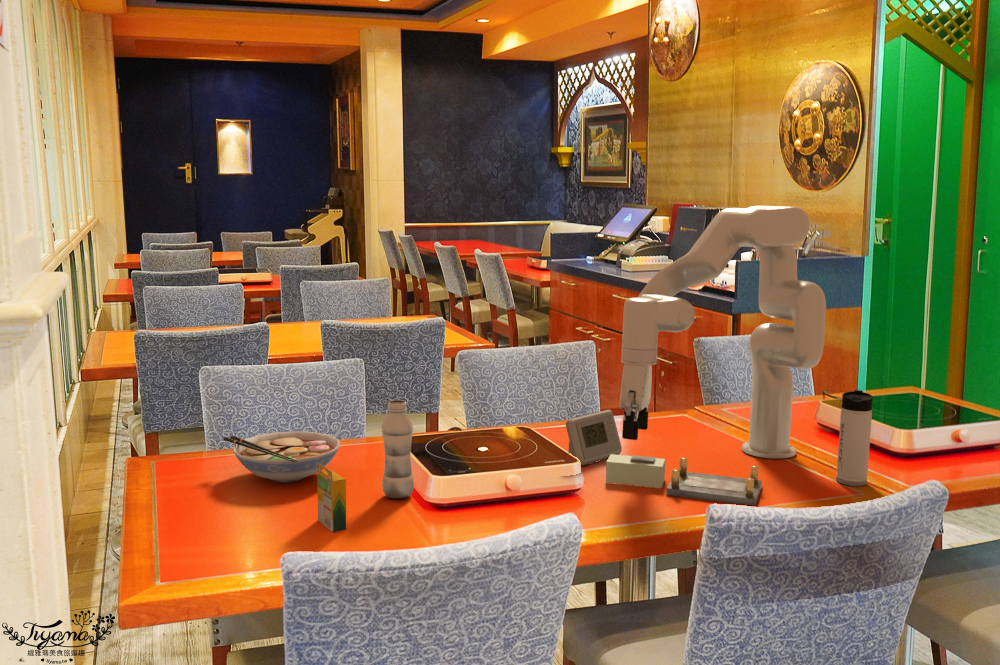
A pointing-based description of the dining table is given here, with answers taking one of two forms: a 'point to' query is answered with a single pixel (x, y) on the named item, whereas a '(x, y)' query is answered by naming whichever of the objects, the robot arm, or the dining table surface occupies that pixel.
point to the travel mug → (854, 438)
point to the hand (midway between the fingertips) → (635, 433)
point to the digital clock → (593, 437)
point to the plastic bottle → (397, 451)
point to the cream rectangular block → (635, 470)
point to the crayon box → (331, 499)
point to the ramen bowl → (285, 454)
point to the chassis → (714, 486)
